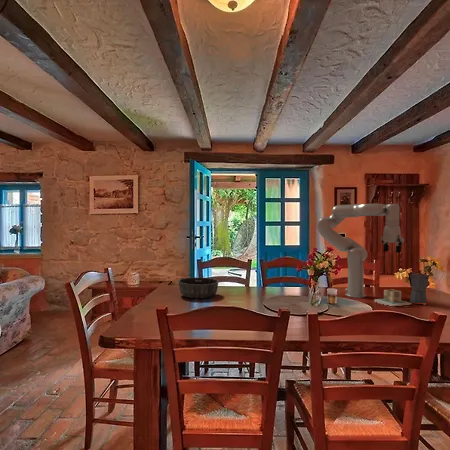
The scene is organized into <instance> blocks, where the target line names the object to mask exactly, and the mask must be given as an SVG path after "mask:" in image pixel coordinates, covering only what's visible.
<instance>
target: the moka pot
mask: <svg viewBox="0 0 450 450" xmlns="http://www.w3.org/2000/svg"><path fill="white" fill-rule="evenodd" d="M429 279H430V275H428V274H426V273H422V270H419V269H418V272H413V271H410V272H409V273H408V280H409V286H410V287H411V288H412V289H411V292H410V293H411V294H410V298H409V303H411V302H413V303H427V304H428V301H427V293H426V291H427V288H428V284H429ZM413 303H412V304H413Z"/></svg>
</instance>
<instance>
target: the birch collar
mask: <svg viewBox="0 0 450 450" xmlns="http://www.w3.org/2000/svg"><path fill="white" fill-rule="evenodd" d="M383 299H384V300H386V301H390V302H401V300H402V290H398V289H393V288H390V289H384V290H383Z"/></svg>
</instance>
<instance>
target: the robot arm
mask: <svg viewBox="0 0 450 450" xmlns="http://www.w3.org/2000/svg"><path fill="white" fill-rule="evenodd" d="M400 209H401V208H400V204H398V203H388V204H383V203H362V204H361V203H360V204H359V203H354V204H338V205H334V206H333V208H332V209H331V213H332V214H330V215H329V216H323V217H321V218H319V220H318V222H317V231H318V233H319V235H320V236H321V237H322V238H323V239H325V240H326V241H327V242H328V243H329V244H331V245H332V246H333V247H334V248H336V249H337V250H338V251H339V252H343V253H344V252H346V254H347V255H346V258H347V287H346V288H345V289H344V290H345V291H346V293H345V294H344V295H345V296H346V297H350V298H355V299H356V298H357V299H361V298H362V299H363V298H366V297H367V295H366V294H365V293H364V272H365V270H364V268H365V267H364V261H365V260H366V259H367V258H368V255H369V254H368V251H367V250H366V248H365V247H364V246H362V245H361V244H360V243H358V242H357V241H355V240H354V239H353V238H351V237H346V236H342V235H341V234H339V232H338V231H336V230H334V228H336V227H337V226H338V225H340V224H341V222H343V221H344V220H345V219H346V218H358V217H366V216H367V217H370V216H371V217H372V216H374V217H376V216H377V217H378V216H379V217H382V216H383V217H384V216H385V223H384V224H385V226H384V228H383V233H382V234H383V236H381V238H380V240H381V242H382V244H383V252H389V248H390V247H389V244H390V243H391V244H392V243H395V244H396V245H395V253H396V254H399V253H402V246H403V244H404V242H405V238H403V236H402V232H401V231H402V230H401V226H400Z"/></svg>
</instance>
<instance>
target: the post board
mask: <svg viewBox="0 0 450 450" xmlns="http://www.w3.org/2000/svg"><path fill="white" fill-rule="evenodd" d="M376 302H377V303H376ZM374 303H376V304H380V305H383V304H384V305H383V306H386V305H389V306H402V305H410V304H412V305H413V303H411V302H410V301H406V300H405V301H404V300H403V299H401V302H390V301H386V300H384V298H375V299H374ZM389 306H388V307H389Z"/></svg>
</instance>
